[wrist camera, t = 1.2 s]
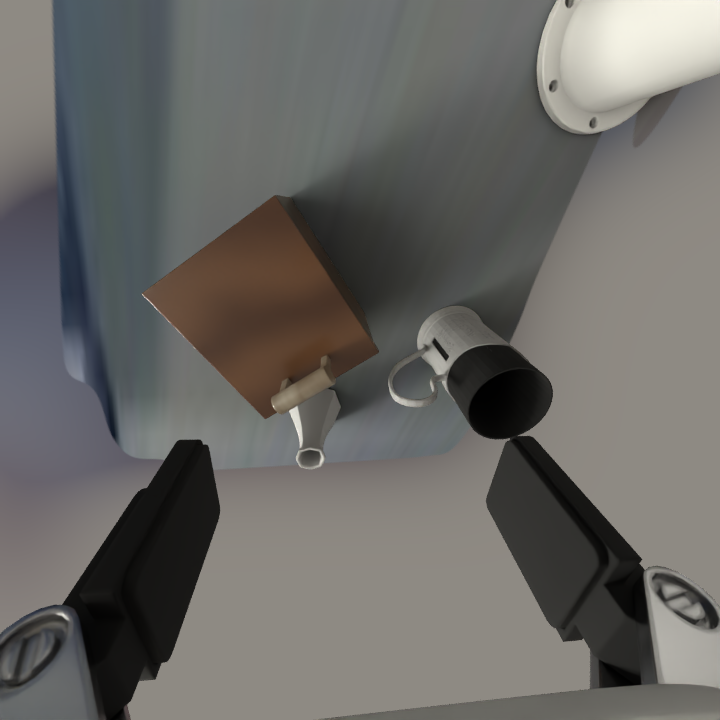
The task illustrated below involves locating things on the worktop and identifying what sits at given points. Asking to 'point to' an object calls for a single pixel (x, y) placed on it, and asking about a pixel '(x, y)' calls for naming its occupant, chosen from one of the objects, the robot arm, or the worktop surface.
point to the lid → (264, 312)
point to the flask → (314, 426)
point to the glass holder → (479, 374)
